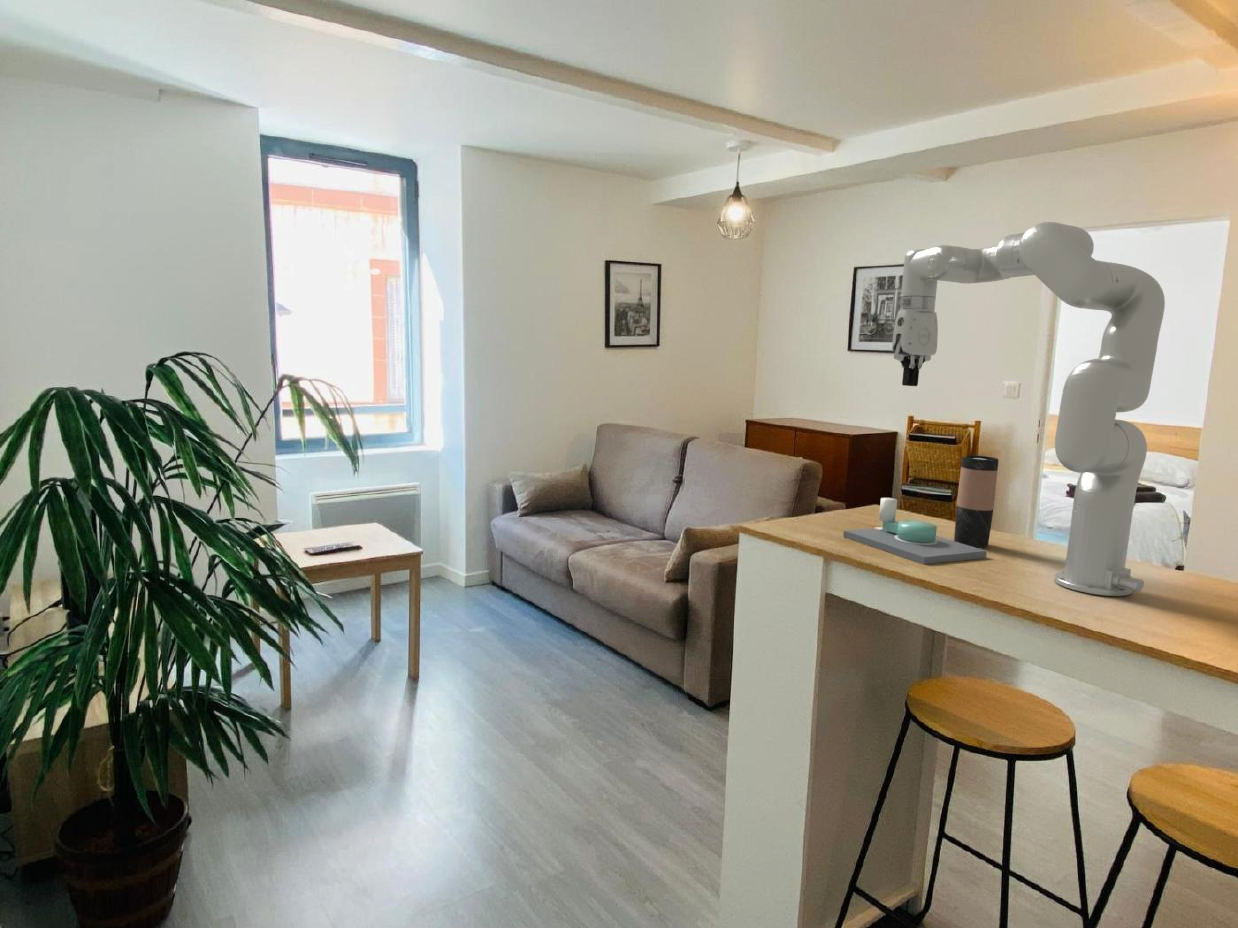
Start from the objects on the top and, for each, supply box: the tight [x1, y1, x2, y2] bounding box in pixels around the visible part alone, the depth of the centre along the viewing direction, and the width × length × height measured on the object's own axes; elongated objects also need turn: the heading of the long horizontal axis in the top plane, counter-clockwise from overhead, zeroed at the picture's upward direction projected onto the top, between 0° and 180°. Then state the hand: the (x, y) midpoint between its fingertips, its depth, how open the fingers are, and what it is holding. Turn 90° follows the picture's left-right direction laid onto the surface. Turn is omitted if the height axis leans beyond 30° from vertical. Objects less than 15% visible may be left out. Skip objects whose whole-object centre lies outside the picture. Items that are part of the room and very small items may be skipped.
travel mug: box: [953, 454, 999, 549], centre depth 176 cm, size 8×8×20 cm
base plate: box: [843, 526, 988, 565], centre depth 173 cm, size 24×18×2 cm
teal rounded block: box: [878, 497, 938, 542], centre depth 175 cm, size 15×8×7 cm, turn 26°
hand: (909, 385), depth 181 cm, fingers closed
